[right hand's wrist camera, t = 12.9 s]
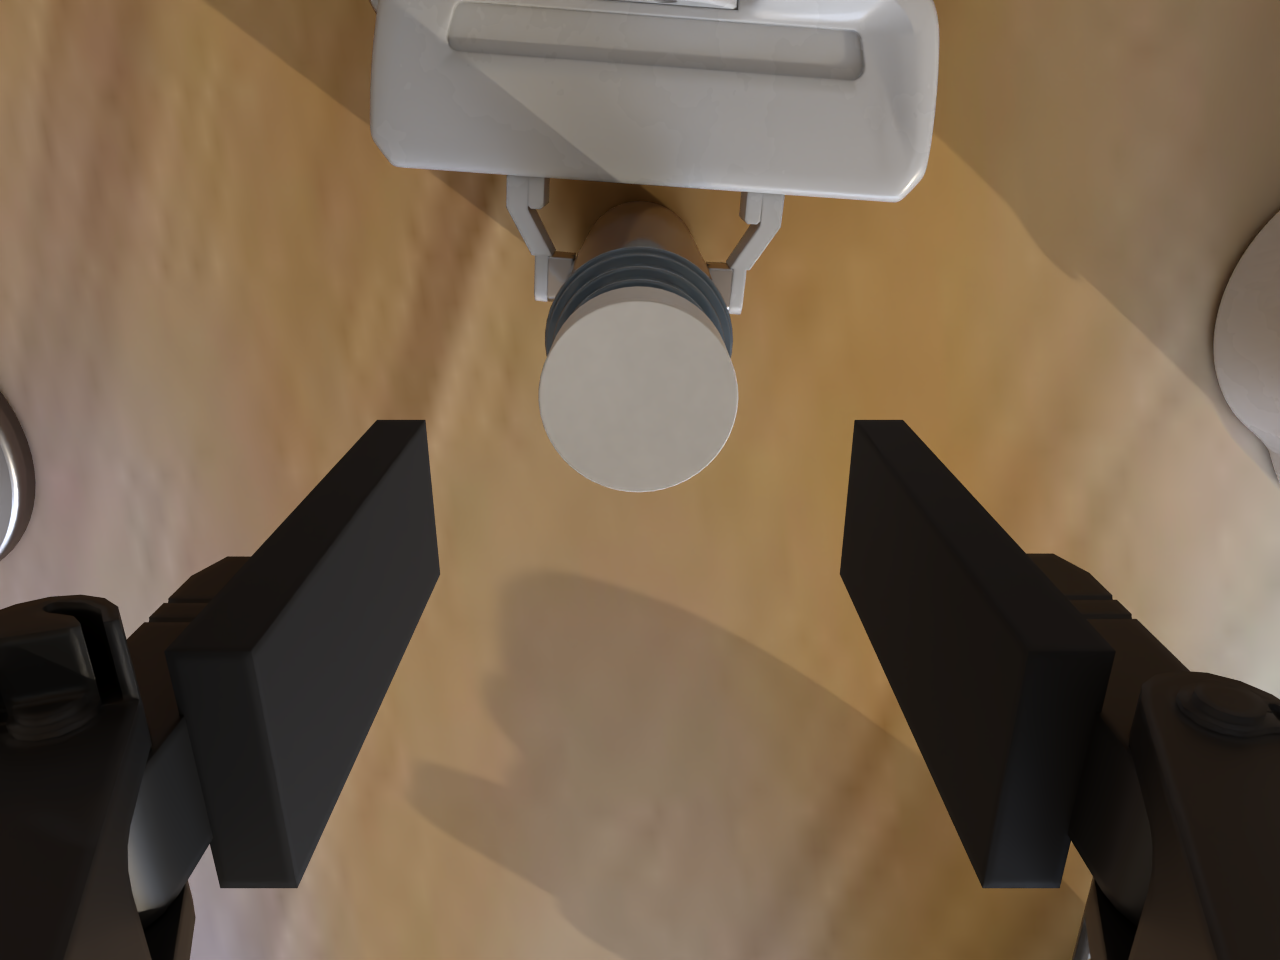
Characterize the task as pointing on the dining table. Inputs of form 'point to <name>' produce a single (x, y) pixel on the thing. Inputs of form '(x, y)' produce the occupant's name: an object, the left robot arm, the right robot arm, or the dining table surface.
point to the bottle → (639, 265)
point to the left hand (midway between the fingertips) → (639, 305)
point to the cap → (638, 390)
